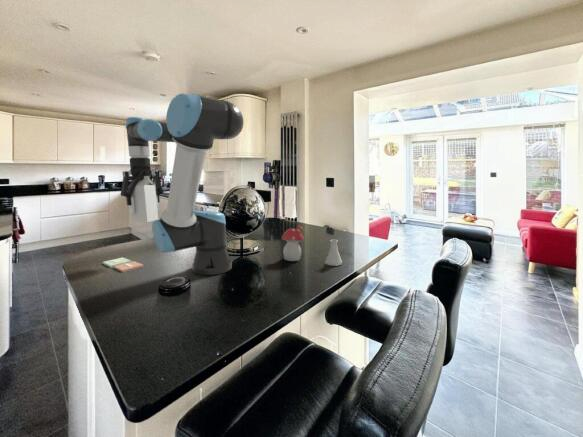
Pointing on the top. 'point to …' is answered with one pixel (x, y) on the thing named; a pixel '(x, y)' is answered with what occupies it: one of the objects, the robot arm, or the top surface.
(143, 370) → the top surface
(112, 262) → the pale green square tile
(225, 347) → the top surface
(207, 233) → the robot arm
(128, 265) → the pad lying
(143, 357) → the top surface
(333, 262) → the flask
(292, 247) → the decorative ornament
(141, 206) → the milk carton
